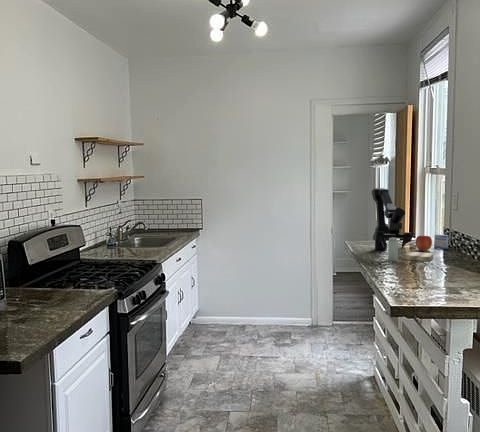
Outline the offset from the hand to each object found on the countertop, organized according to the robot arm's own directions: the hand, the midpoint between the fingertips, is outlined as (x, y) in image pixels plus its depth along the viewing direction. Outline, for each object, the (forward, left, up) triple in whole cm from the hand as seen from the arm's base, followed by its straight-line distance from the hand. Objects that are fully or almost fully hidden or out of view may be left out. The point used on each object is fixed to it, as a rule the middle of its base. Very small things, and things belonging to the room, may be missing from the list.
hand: (393, 248), depth 263 cm
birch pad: (+12, +14, -7) cm, 20 cm away
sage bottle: (0, +1, -7) cm, 7 cm away
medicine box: (+18, +57, -7) cm, 60 cm away
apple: (+10, +41, -7) cm, 43 cm away
